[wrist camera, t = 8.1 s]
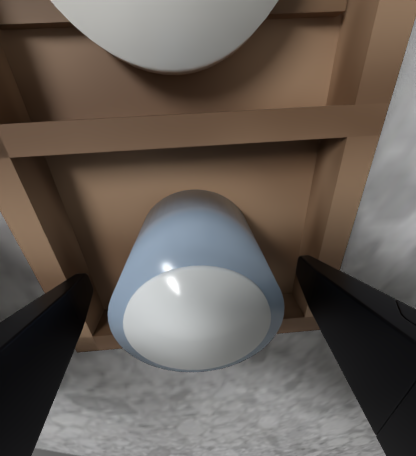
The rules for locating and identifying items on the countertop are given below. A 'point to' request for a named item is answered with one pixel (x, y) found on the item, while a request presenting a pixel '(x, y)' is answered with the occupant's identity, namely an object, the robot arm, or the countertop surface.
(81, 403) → the countertop surface
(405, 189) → the countertop surface
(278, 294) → the white-capped blue cylinder
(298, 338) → the countertop surface
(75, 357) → the countertop surface
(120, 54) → the white smooth oval
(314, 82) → the rack
